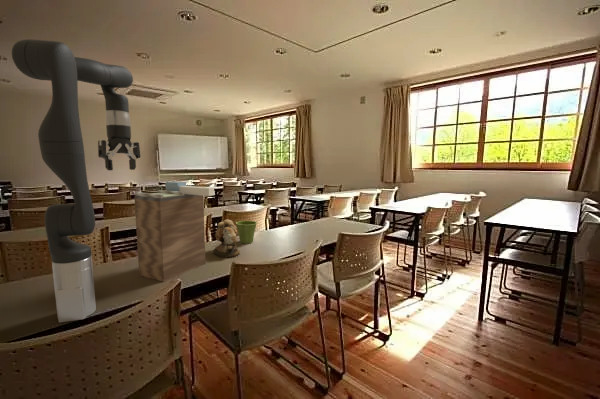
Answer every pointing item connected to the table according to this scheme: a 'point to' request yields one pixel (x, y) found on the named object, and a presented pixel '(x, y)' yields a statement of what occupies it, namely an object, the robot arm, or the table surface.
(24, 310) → the table surface
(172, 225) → the tall wood grain pillar
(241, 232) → the plant pot
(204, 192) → the blue and beige bar
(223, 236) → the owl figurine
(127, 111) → the robot arm
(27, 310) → the table surface
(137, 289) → the table surface
